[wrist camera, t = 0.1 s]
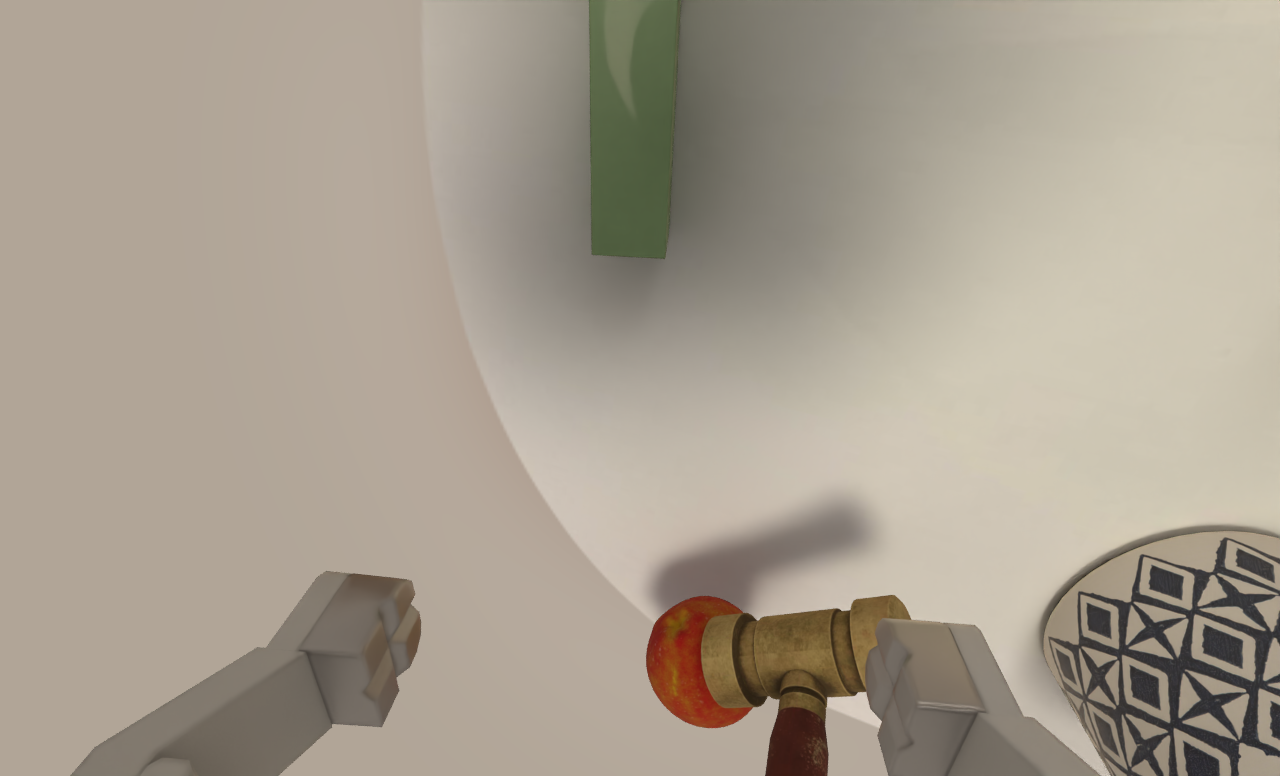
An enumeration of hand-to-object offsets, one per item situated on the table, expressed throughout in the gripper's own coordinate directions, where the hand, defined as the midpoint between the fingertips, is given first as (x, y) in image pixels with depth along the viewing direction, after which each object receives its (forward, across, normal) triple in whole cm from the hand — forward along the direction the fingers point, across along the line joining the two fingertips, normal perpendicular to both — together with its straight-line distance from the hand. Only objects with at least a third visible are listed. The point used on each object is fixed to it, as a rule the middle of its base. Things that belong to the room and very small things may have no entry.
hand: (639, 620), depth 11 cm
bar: (+22, +2, -9) cm, 24 cm away
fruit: (+17, -1, +19) cm, 26 cm away
